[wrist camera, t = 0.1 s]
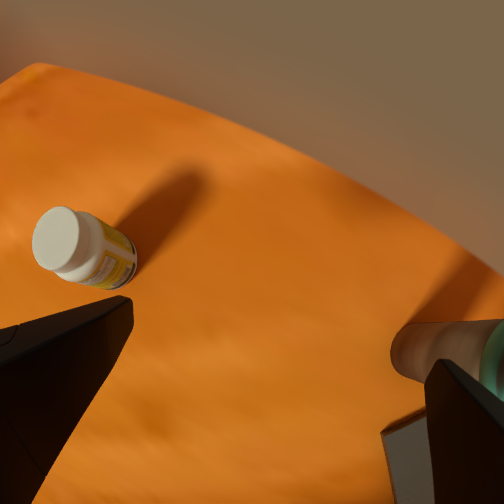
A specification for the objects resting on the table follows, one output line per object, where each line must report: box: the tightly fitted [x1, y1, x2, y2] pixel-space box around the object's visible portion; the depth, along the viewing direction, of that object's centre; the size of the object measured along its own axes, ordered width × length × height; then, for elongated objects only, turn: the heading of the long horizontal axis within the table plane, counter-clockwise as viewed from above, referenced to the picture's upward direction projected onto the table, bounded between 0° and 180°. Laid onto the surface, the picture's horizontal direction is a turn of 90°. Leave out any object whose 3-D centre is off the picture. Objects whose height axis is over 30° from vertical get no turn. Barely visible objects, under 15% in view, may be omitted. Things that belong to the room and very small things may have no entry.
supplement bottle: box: [32, 206, 137, 290], centre depth 20 cm, size 5×5×8 cm
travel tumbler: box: [390, 319, 504, 402], centre depth 15 cm, size 5×5×13 cm
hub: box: [380, 411, 435, 504], centre depth 17 cm, size 15×17×3 cm
